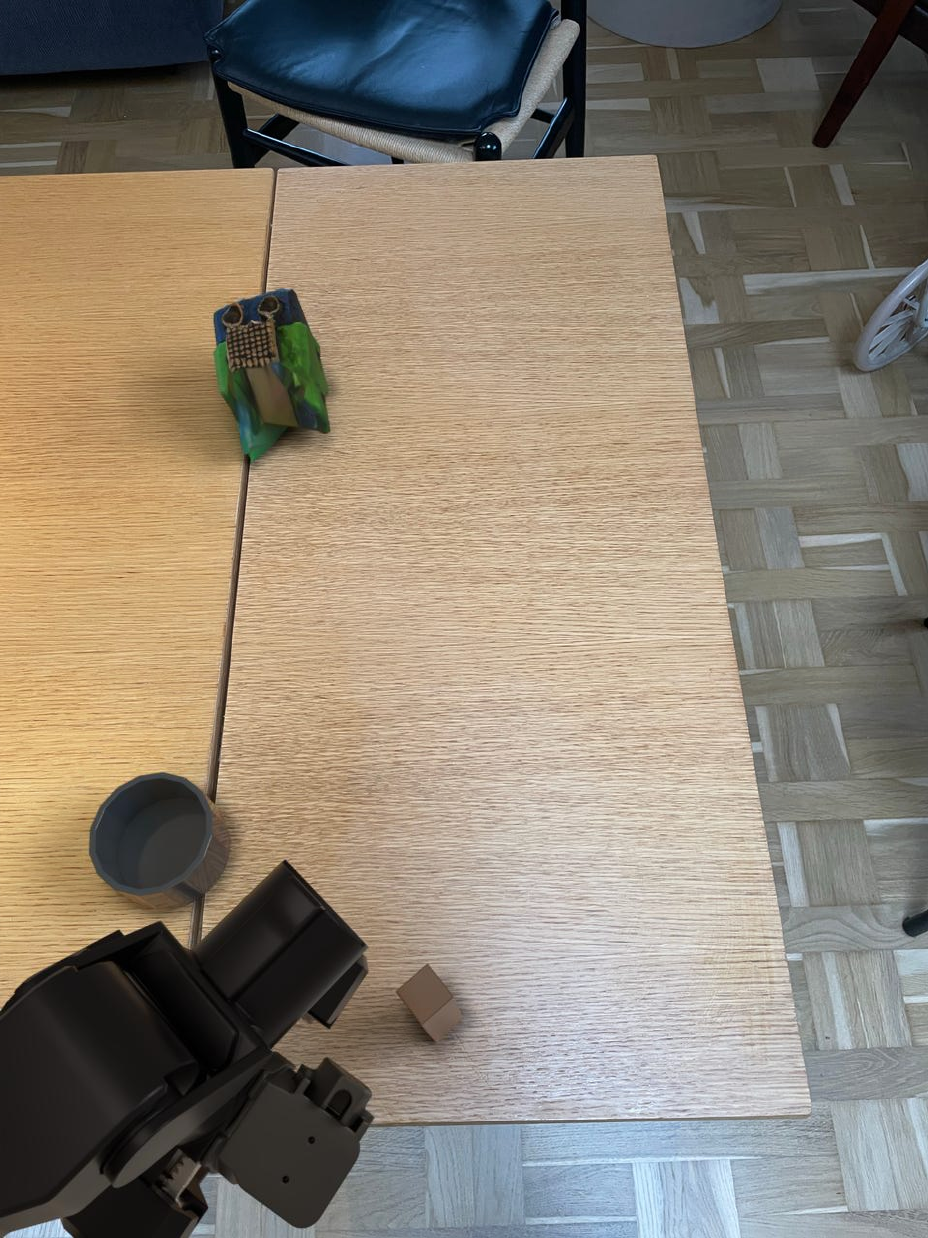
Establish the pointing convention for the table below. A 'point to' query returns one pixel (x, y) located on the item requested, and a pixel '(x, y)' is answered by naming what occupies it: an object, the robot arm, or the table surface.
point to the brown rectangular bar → (430, 1003)
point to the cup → (159, 841)
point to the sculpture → (269, 369)
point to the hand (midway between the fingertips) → (260, 1084)
